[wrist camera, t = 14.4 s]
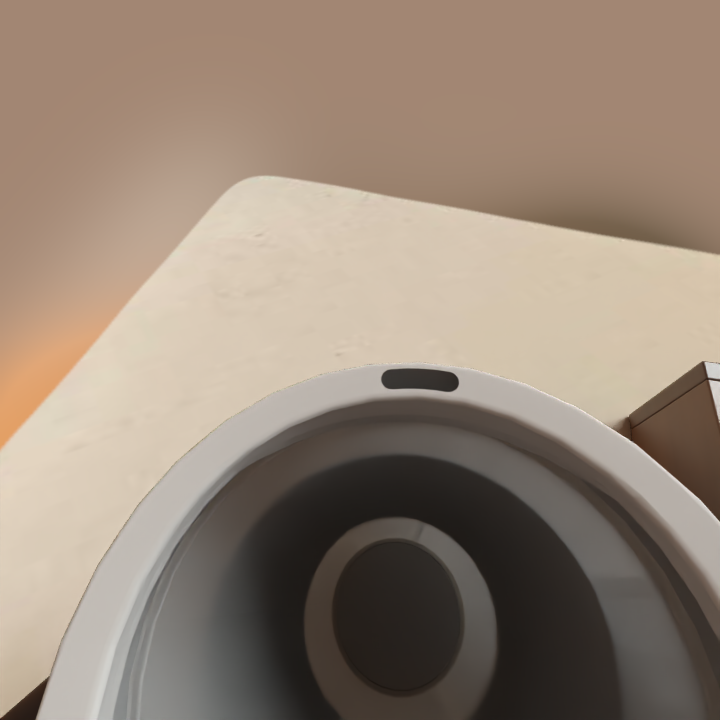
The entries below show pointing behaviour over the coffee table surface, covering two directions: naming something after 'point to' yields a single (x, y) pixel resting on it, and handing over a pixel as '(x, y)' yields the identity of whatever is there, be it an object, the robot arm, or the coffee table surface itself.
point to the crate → (686, 431)
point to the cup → (403, 567)
